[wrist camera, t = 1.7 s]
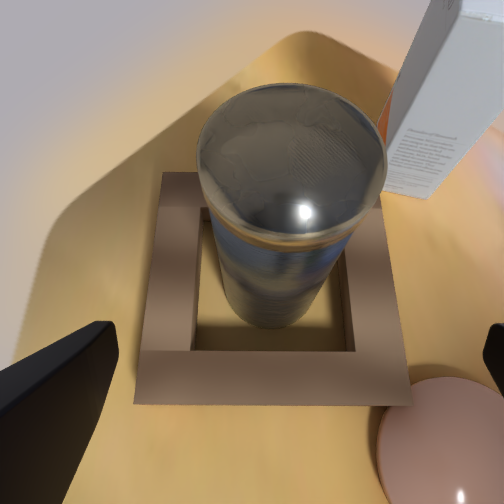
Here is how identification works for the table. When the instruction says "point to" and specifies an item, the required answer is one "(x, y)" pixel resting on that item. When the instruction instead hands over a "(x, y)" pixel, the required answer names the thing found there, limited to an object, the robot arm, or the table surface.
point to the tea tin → (286, 193)
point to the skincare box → (443, 94)
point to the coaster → (443, 445)
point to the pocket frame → (266, 362)
